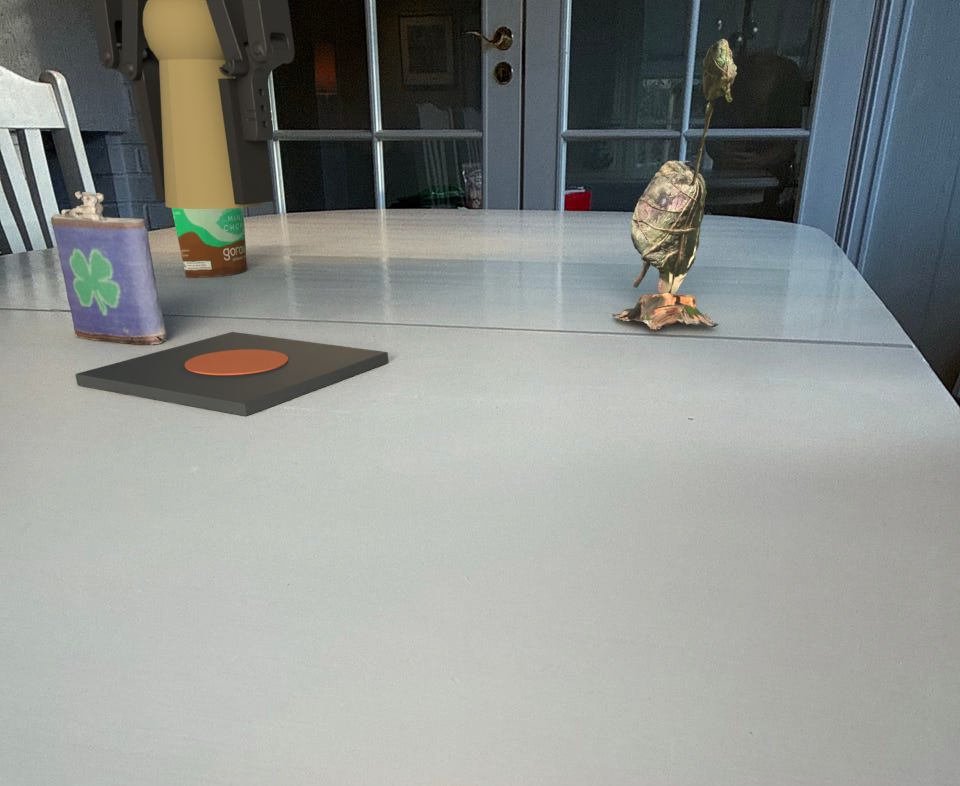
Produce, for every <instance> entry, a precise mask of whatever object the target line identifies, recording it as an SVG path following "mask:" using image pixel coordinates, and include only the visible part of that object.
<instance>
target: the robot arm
mask: <svg viewBox="0 0 960 786" xmlns="http://www.w3.org/2000/svg"><path fill="white" fill-rule="evenodd" d="M147 1H148V0H90V4H91V10H92V18H93V23H94V30H95V37H96V44H97V52H98V57H99V60H100V63H101V65H102V66H103V67H104V68H105V69H109V70H114V71H117V72H119V73H120V74H123V75H124V76H125V78H126V79H127V81H128V82H129V83H130V86H131V91H132V98H133V103H134V108H135V114H136V120H137V127H138V132H139V134H140V136H141V139H142V141H145V142H146V148H147V154H148V159H149V160H148V161H149V165H150V172H151V177H152V182H153V188H154V194H155V201H157V202H165V183H164V161H163V138H162V116H161V93H160V71H159V60H158V58H157V57H156V56H155V54H154V53H153V52H152V50H151V49H150V47H149V45H148V42H147V40H146V37H145V33H144V27H143V11H144V8H145V5H146V2H147ZM206 3H207V6H208V9H209V12H210V15H211V18H212V21H213V24H214V27H215V30H216V33H217V36H218V39H219V42H220V45H221V48H222V51H223V54H224V57H225V60H226V64H224V65H223V66H222V67H219V69H220V71H221V73H222V74H223V75H225V76H233V78H223V79H218V83H219V90H220V97H221V105H222V112H223V120H224V127H225V135H226V142H227V150H228V157H229V164H230V172H231V179H232V187H233V194H234V202H235V204H240V205H246V204H254V203H270V202H274V201H275V200H274V191H273V190H274V189H273V181H272V172H271V164H270V163H271V162H270V155H269V147H268V141H273V136H274V124H273V123H274V122H273V114H272V104H271V96H270V95H271V94H270V87H269V79H270V75H271V73H272V72H273V70H275V69H276V68H278V67H280V66H281V65H283V64H290V63H292V62H293V61H294V58H295V54H296V53H295V52H296V51H295V43H294V35H293V28H292V21H291V14H290V8H289V0H206ZM118 44H119V45H118ZM144 51H145V52H146V54H145V53H144Z"/></svg>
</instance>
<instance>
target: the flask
mask: <svg viewBox="0 0 960 786" xmlns="http://www.w3.org/2000/svg"><path fill="white" fill-rule="evenodd" d="M74 196H75V197H76V198H77V200H80V199H81V201H82V202H83V204H80V205H76V207H74V208H71V209H69V208H68V209H62V210H61V212H60V213H53V214H52V216H51V218H50V223H51V228H52V231H53V235H54V239H55V243H56V248H57V252H58V257H59V262H60V268H61V271H62V275H63V281H64V286H65V292H66V297H67V302H68V305H69V310H70V313H71V319H72V323H73V330H74V335H75V337H77V338H82V339H87V340H92V341H102V342H103V341H108V342H111V343H120V344H131V345H142V344H145V345H150V346H153V345H159V344H161V343H162V342H164V341H165V342H167V340H168V339H167V338H168V335H167V330H166V324H165V320H164V316H163V311H162V304H161V301H160V297H159V290H158V284H157V278H156V275H155V269H154V263H153V256H152V252H151V245H150V239H149V231H148V225H147V221H146V219H145V218H130V217H127V218H126V217H125V218H124V217H109V216H103V212H104V206H103V204H101V203H102V202H103V201H104V200H105V196H104V194H103V193H100V192H96V193H93V192H91V191H90V192H89V191H83V192H81V191H80V190H78V191H75V193H74ZM160 339H161V340H160Z"/></svg>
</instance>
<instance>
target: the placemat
mask: <svg viewBox="0 0 960 786" xmlns="http://www.w3.org/2000/svg"><path fill="white" fill-rule="evenodd" d="M386 364H387V365H388V364H389V353H388V351H382V350H374V349H367V348H359V347H351V346H343V345H336V344H328V343H320V342H315V341H313V342H312V341H305V340H298V339H290V338H283V337H276V336H275V337H274V336H267V335H259V334H251V333H245V332H237V331H231V332H227V333H223V334H219V335H215V336H211V337H208V338H204V339H200V340H196V341H193V342H189V343H185V344H181V345H178V346H174V347H170V348H167V349H163V350H159V351H156V352H152V353H148V354H145V355H141V356H137V357H134V358H130V359H126V360H122V361H118V362H115V363H111V364H107V365H104V366H100V367H96V368H92V369H88V370H85V371H81V372H77V373H75V375H74V376H75V380H76V384H77V386H78V387H79V386H80V387H84V388H91V389H96V390H101V391H106V392H112V393H118V394H122V395H128V396H132V397H133V396H134V397H137V398H138V397H139V398H144V399H150V400H154V401H155V400H156V401H160V402H167V403H171V404H177V405H181V406H188V407H194V408H197V409H198V408H199V409H205V410H210V411H214V412H215V411H216V412H221V413H226V414H232V415H237V416H243V417H247V416H251V415H253V414H256V413H259V412H261V411H263V410H267V409H269V408H272V407H274V406H277V405H280V404H282V403H285V402H287V401H291V400H293V399H296V398H299V397H301V396H304V395H307V394H308V393H312V392H314V391H317V390H320V389H323V388H325V387H327V386H331V385H333V384H336V383H338V382H341V381H343V380H347V379H349V378H352V377H354V376H357V375H360V374H362V373H366V372H368V371H370V370H373V369H376V368H378V367H381V366H384V365H386Z"/></svg>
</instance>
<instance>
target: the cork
mask: <svg viewBox="0 0 960 786" xmlns="http://www.w3.org/2000/svg"><path fill="white" fill-rule="evenodd" d="M143 27H144V33H145V37H146V40H147V42H148V45H149V47H150V49H151V50H152V52H153V53H154V54H155V56H156V57H157V58H158V60H159V71H160V93H161V116H162V138H163V161H164V183H165V201H164V205H165V208H169V209H172V208H177V209H226V208H241V207H243V208H251V207H258V206H261V205H263V203H264V202H263V203H254V204H246V205H240V204H235V202H234V194H233V187H232V179H231V172H230V164H229V157H228V150H227V142H226V135H225V127H224V120H223V112H222V105H221V97H220V90H219V83H218V79H223V78H233V79H234V76H225V75H223V74H222V73H221V71H220V69H219V67H222V66H223V65H224V64H226V60H225V57H224V54H223V51H222V48H221V45H220V42H219V39H218V36H217V33H216V30H215V27H214V24H213V21H212V18H211V15H210V12H209V9H208V6H207V3H206V0H148V1H147V2H146V5H145V8H144V11H143Z"/></svg>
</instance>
